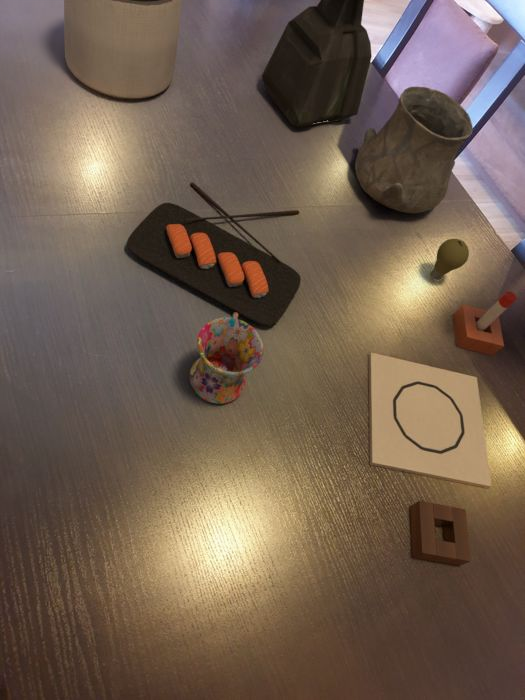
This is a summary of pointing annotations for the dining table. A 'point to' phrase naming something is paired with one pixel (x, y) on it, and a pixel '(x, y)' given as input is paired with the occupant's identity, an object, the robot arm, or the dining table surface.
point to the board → (426, 421)
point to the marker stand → (454, 532)
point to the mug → (225, 358)
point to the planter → (122, 45)
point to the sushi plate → (217, 260)
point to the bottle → (320, 63)
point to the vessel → (413, 151)
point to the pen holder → (476, 331)
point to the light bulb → (449, 257)
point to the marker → (496, 310)
